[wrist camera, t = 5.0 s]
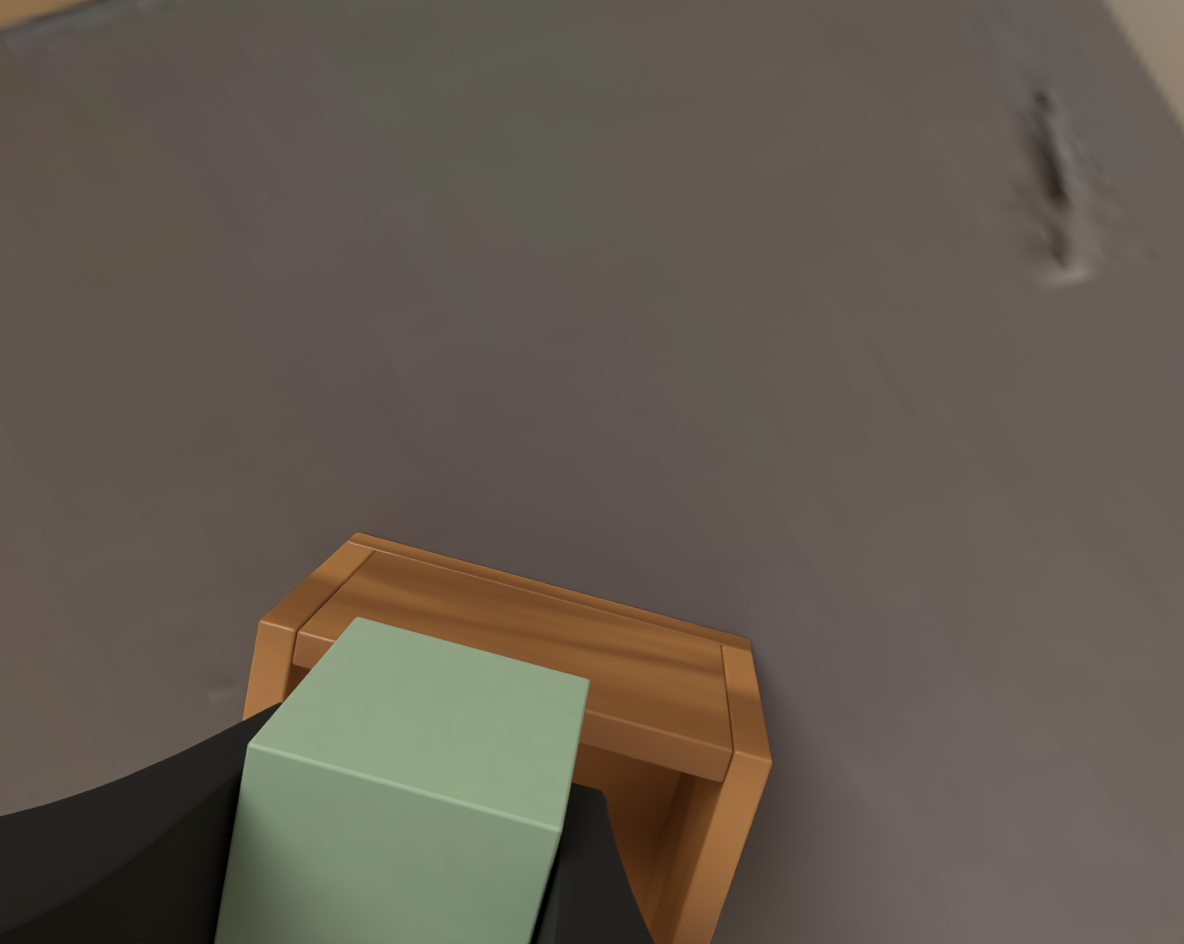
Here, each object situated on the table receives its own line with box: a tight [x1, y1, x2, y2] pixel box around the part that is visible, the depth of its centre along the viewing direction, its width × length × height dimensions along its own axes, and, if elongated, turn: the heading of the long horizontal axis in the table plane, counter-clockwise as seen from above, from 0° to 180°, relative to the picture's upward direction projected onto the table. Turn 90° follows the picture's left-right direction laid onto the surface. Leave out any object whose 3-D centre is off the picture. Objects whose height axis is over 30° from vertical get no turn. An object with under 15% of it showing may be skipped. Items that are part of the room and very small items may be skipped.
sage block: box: [214, 617, 590, 944], centre depth 13 cm, size 4×4×4 cm
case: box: [242, 532, 773, 944], centre depth 22 cm, size 10×11×6 cm
